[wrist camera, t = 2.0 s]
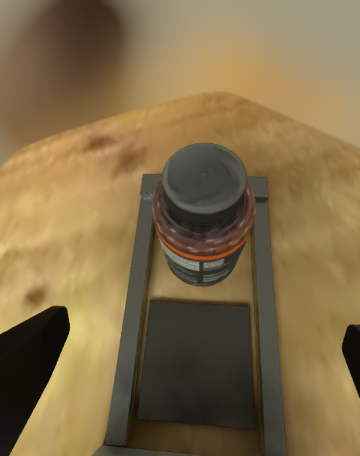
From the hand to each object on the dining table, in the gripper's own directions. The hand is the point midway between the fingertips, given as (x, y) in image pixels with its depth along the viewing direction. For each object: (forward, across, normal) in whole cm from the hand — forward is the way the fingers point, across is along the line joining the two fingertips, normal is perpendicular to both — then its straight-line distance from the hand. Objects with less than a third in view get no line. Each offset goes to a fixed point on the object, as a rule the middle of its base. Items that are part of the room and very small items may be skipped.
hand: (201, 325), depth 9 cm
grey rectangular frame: (+11, 0, +7) cm, 13 cm away
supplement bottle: (+14, 0, +4) cm, 14 cm away
